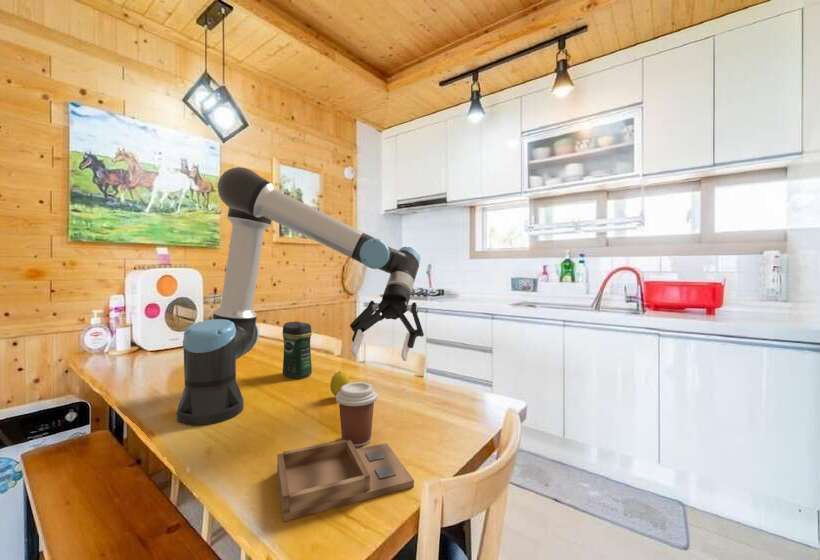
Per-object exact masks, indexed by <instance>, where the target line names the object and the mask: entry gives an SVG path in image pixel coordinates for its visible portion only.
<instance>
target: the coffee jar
mask: <svg viewBox="0 0 820 560" xmlns="http://www.w3.org/2000/svg"><path fill="white" fill-rule="evenodd" d="M312 332H313V331H312V325H311V324H310V323H307V322H300V321H289V322H285V323H284V324H283V326H282V338H283V361H282V362H283V363H282V375H283V376H285V377H287V378H291V379H301V378H302V379H303V378H304V379H305V378H307V377H309V376H310V375H312V373H313V371H312V365H313V364H312V356H311V355H312V354H311V337H312V334H313V333H312Z"/></svg>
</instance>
